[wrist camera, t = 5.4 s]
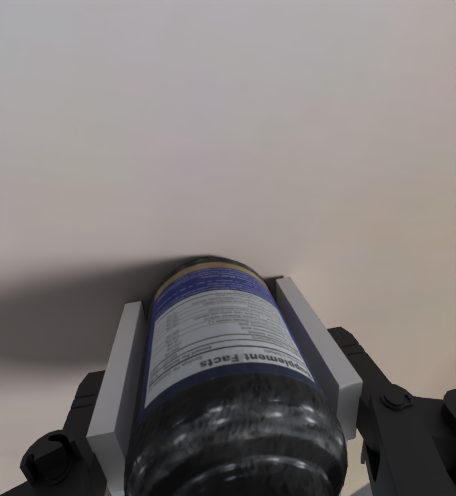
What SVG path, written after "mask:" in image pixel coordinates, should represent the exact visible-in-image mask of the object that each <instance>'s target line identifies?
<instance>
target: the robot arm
mask: <svg viewBox="0 0 456 496" xmlns="http://www.w3.org/2000/svg"><path fill="white" fill-rule="evenodd" d="M276 304H277V306H278V308H279V310H280V312H281V313H282V315H283V317H284V319H285V321H286V323H287V324H288V326H289V328H290V330H291V332H292V334H293V336H294V338H295V339H296V341H297V343H298V345H299V347H300V349H301V351H302V353H303V355H304V357H305V358H306V360H307V362H308V364H309V366H310V368H311V370H312V372H313V374H314V376H315V378H316V379H317V381H318V383H319V385H320V387H321V389H322V390H323V392H324V394H325V396H326V398H327V400H328V402H329V404H330V405H331V407H332V409H333V411H334V412H335V414H336V416H337V418H338V420H339V422H340V424H341V428H342V431H343V434H344V437H345V440H350V439H354V438H355V437H356V429H358V430H359V432H360V434H361V436H362V437H363V439H364V440H363V446H362V453H361V464H365V461H366V466H367V471H368V475H369V480H370V484H371V489H372V494H373V496H456V389H453V390H450V391H447V393H446V394H445V396H444V398H443V400H441V399H431V398H421V397H416V396H412V395H411V394H410V393H409V392H408V391H407V390H405V389H404V388H402V387H400V386H398V385H395V384H392V383H391V382H390V381H389V380H388V379H387V378H386V376H385V375H384V374H383V373H382V371H381V370H380V369H379V368H378V366H377V365H376V364H375V363H374V361H373V360H372V359H371V358H370V356H369V355H368V354H367V353H366V352H365V350H364V349H363V348H362V346H361V345H359V343H358V341H357V340H356V339H355V338H354V336H353V335H352V334H351V333H349V332H348V331H346V330H345V329H343V328H342V327H336V328H330V329H326V328H325V326H324V325H323V323H322V322H321V321H320V319H319V318H318V316H317V315H316V313H315V312H314V311H313V309H312V308H311V306H310V305H309V303H308V302H307V301H306V299H305V298H304V296H303V295H302V293H301V292H300V291H299V289H298V288H297V286H296V285H295V283H294V282H293V280H292V279H291V278H290V277H288V278H282V279H276ZM146 329H147V322H146V318H145V314H144V310H143V306H142V303H141V301H139V302H132V303H126V304H125V306H124V309H123V313H122V316H121V320H120V323H119V326H118V330H117V333H116V337H115V340H114V344H113V347H112V350H111V354H110V357H109V361H108V364H107V368H106V370H103V371H98V372H92V373H88V375H87V376H86V377H85V378H84V380H83V381H82V382H81V383H80V385H79V387H78V390H77V392H76V395H75V400H73V403H72V406H71V410H70V411H69V414H68V416H67V419H66V422H65V424H64V427H63V430H56V431H53V432H50V433H47V434H46V435H44V436H42V437H41V438H39V439H38V440H37V441H36V442H35V443H34V444H33V445H31V446H30V447H29V449H28V450H27V452H26V453H25V455H24V456H23V458H22V461H21V464H20V469H21V470H22V472H23V474H24V475H25V477H26V478H27V480H28V481H26V482H24V483H23V484H21V485H19V486H17V487H15V488H13V489H11V490H9V491H7V492H5V493H3V494H1V495H0V496H104V495H105V490H106V485H108V487H109V489H110V491H111V492H116V491H120V490H123V489H124V471H125V460H126V456H127V452H128V446H129V439H130V433H131V427H132V420H133V414H134V407H135V401H136V393H137V388H138V381H139V374H140V367H141V361H142V354H143V348H144V342H145V335H146Z"/></svg>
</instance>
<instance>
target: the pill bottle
mask: <svg viewBox="0 0 456 496" xmlns="http://www.w3.org/2000/svg"><path fill="white" fill-rule="evenodd" d="M347 467H348V461H347V446H346V442H345V437H344V434H343V431H342V428H341V424H340V422H339V420H338V418H337V416H336V414H335V412H334V411H333V409H332V407H331V405H330V404H329V402H328V400H327V398H326V396H325V394H324V392H323V390H322V389H321V387H320V385H319V383H318V381H317V379H316V378H315V376H314V374H313V372H312V370H311V368H310V366H309V364H308V362H307V360H306V358H305V357H304V355H303V353H302V351H301V349H300V347H299V345H298V343H297V341H296V339H295V338H294V336H293V334H292V332H291V330H290V328H289V326H288V324H287V323H286V321H285V319H284V317H283V315H282V313H281V312H280V310H279V308H278V306H277V304H276V302H275V300H274V298H273V297H272V295H271V293H270V291H269V289H268V287H267V286H266V284H265V282H264V280H263V279H262V278H261V277H260V276H259V275H258V274H257V273H256V272H255V271H254V270H253V269H251V268H250V267H248V266H246V265H244V264H242V263H239V262H237V261H234V260H230V259H226V258H203V259H198V260H195V261H191V262H189V263H187V264H185V265H183V266H181V267H179V268H177V269H175V270H174V271H173V272H172V273H171V274H170V275H168V276H167V277H166V278H165V279H164V280H163V282H162V283H161V285H160V286H159V288H158V290H157V291H156V292H155V294H154V297H153V299H152V301H151V305H150V309H149V317H148V323H147V329H146V335H145V342H144V348H143V354H142V361H141V367H140V374H139V381H138V388H137V393H136V401H135V407H134V414H133V420H132V427H131V433H130V439H129V446H128V452H127V456H126V460H125V471H124V489H123V490H124V496H339V494H340V492H341V489H342V487H343V486H344V481H345V476H346V473H347Z"/></svg>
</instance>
